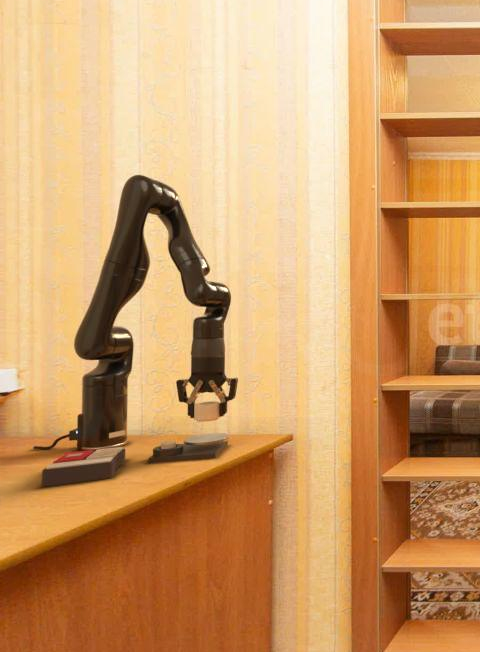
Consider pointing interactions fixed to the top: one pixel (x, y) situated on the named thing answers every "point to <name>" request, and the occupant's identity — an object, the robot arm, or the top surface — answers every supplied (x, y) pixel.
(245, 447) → the top surface
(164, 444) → the button
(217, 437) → the pan
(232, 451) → the top surface
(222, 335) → the robot arm
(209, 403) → the bowl
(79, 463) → the calculator
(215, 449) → the grey knob plate
